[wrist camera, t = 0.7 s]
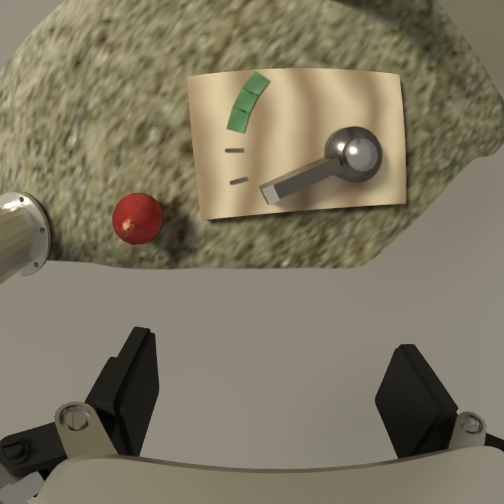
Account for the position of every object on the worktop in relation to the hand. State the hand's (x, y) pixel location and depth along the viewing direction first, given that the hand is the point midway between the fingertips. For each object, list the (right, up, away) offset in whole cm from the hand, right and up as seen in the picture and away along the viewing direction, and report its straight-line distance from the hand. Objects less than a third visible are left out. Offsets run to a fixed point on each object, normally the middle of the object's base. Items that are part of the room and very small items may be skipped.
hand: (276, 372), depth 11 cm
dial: (+7, +14, +24) cm, 29 cm away
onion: (-14, +9, +26) cm, 31 cm away
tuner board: (+5, +18, +25) cm, 31 cm away
